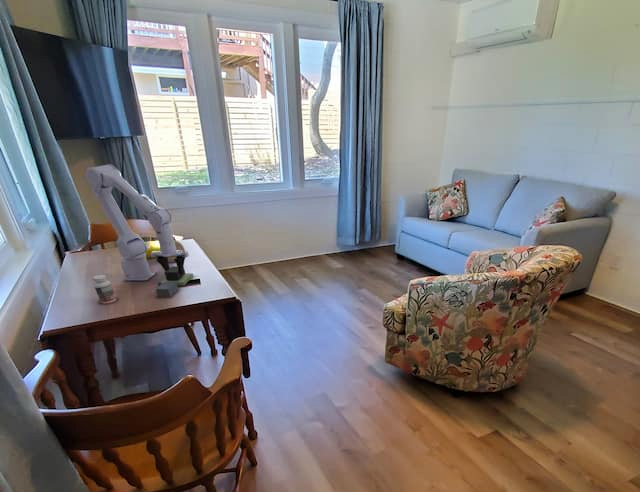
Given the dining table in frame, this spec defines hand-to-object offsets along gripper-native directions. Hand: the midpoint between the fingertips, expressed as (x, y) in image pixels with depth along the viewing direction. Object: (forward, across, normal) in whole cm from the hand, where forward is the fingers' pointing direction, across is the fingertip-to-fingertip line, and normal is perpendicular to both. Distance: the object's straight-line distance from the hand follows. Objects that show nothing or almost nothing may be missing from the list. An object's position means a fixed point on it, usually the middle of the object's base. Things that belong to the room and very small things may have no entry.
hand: (175, 273), depth 166 cm
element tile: (+3, -25, +36) cm, 44 cm away
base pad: (+3, 0, 0) cm, 3 cm away
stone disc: (+3, -11, +24) cm, 27 cm away
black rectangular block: (+1, 0, 0) cm, 1 cm away
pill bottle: (+3, -18, -20) cm, 27 cm away
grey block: (+3, +2, -13) cm, 14 cm away
